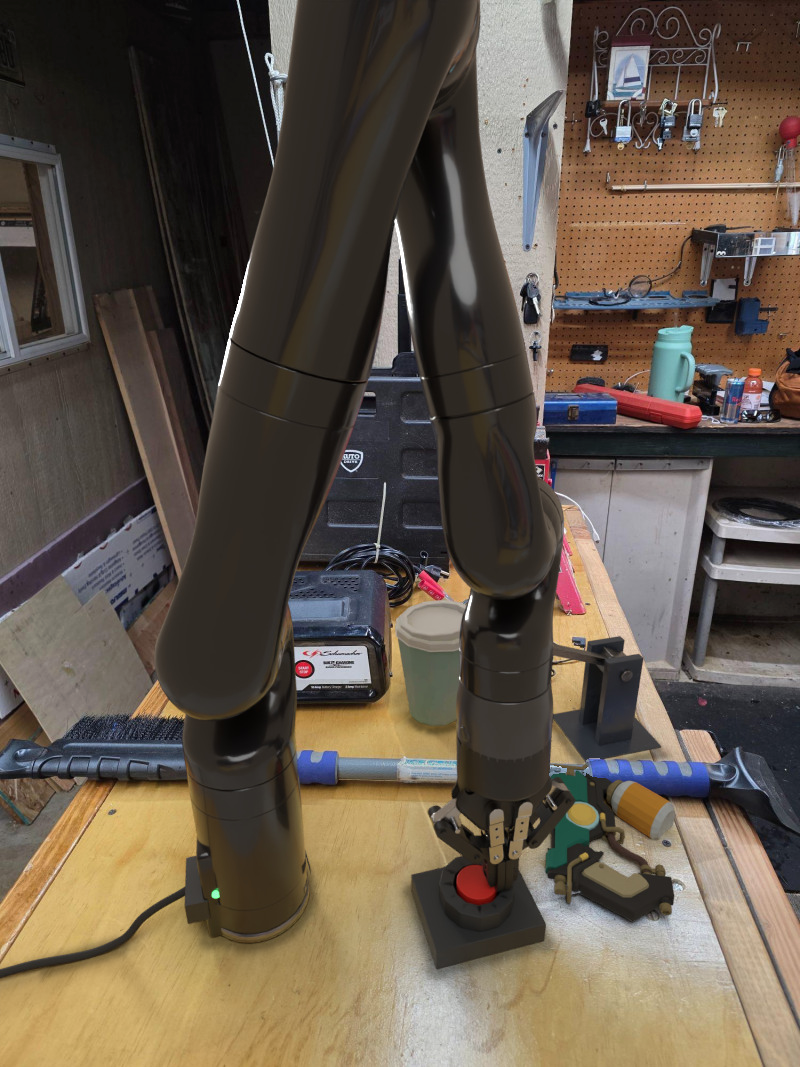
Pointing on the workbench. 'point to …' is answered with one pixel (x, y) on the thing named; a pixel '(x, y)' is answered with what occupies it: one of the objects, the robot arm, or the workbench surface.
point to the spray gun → (596, 819)
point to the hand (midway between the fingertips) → (499, 882)
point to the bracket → (608, 707)
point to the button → (474, 886)
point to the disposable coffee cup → (431, 659)
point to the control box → (473, 917)
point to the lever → (587, 655)
